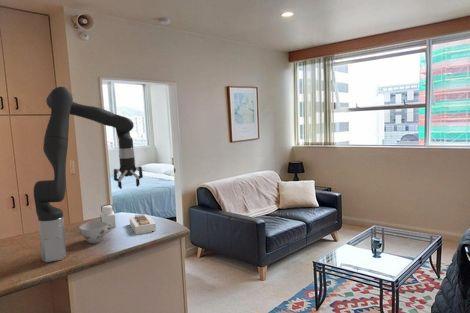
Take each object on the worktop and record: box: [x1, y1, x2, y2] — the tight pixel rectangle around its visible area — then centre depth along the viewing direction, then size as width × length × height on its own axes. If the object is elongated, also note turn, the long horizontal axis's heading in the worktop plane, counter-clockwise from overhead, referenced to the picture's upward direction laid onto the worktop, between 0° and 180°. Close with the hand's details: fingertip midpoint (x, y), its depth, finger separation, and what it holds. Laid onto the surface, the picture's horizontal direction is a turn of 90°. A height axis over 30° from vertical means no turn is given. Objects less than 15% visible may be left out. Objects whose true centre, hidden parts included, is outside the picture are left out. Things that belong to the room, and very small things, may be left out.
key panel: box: [129, 214, 157, 235], centre depth 178 cm, size 19×10×4 cm, turn 27°
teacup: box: [79, 220, 113, 244], centre depth 160 cm, size 15×12×8 cm
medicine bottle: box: [99, 204, 117, 229], centre depth 181 cm, size 7×7×12 cm
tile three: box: [134, 213, 145, 219], centre depth 183 cm, size 4×4×3 cm
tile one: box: [139, 219, 150, 225], centre depth 172 cm, size 4×4×3 cm
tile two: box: [137, 217, 147, 222], centre depth 177 cm, size 4×4×3 cm
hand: (129, 187), depth 174 cm, fingers open, 8 cm apart
